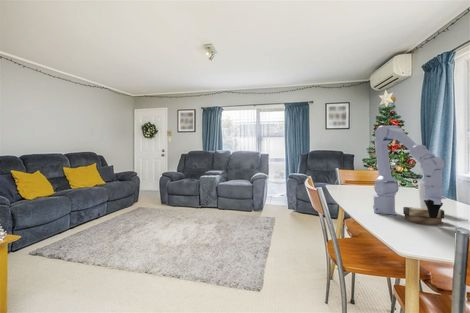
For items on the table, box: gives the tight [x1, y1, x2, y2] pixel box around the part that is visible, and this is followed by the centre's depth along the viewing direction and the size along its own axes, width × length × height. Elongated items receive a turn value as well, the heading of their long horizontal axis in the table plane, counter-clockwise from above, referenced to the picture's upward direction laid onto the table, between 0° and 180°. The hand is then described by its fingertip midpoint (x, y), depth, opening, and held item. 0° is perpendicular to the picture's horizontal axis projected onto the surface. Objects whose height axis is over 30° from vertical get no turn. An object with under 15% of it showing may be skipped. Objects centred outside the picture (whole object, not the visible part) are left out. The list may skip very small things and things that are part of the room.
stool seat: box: [404, 214, 443, 226], centre depth 106 cm, size 13×13×4 cm
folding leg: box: [402, 206, 445, 220], centre depth 105 cm, size 14×3×3 cm, turn 61°
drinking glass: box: [417, 180, 429, 209], centre depth 120 cm, size 7×7×15 cm
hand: (433, 217), depth 99 cm, fingers closed
